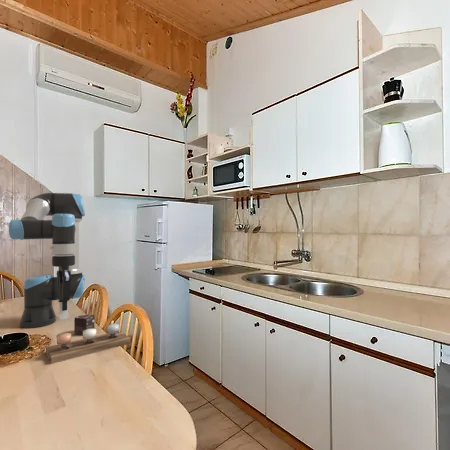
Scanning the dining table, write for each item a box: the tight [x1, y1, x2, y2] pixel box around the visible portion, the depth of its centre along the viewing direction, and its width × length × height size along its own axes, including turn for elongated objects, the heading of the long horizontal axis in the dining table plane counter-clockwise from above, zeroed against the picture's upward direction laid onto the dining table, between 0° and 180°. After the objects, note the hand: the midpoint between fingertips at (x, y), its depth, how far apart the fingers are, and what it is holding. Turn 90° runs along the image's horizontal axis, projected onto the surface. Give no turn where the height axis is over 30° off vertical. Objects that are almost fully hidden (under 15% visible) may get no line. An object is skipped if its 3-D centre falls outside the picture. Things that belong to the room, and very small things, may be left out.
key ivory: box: [82, 328, 97, 343], centre depth 117 cm, size 5×5×4 cm
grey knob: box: [106, 323, 120, 337], centre depth 122 cm, size 5×5×4 cm
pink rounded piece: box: [56, 332, 72, 348], centre depth 111 cm, size 5×5×4 cm
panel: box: [45, 330, 131, 364], centre depth 117 cm, size 12×28×2 cm, turn 129°
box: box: [73, 313, 95, 336], centre depth 134 cm, size 6×6×7 cm
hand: (63, 318), depth 111 cm, fingers closed
